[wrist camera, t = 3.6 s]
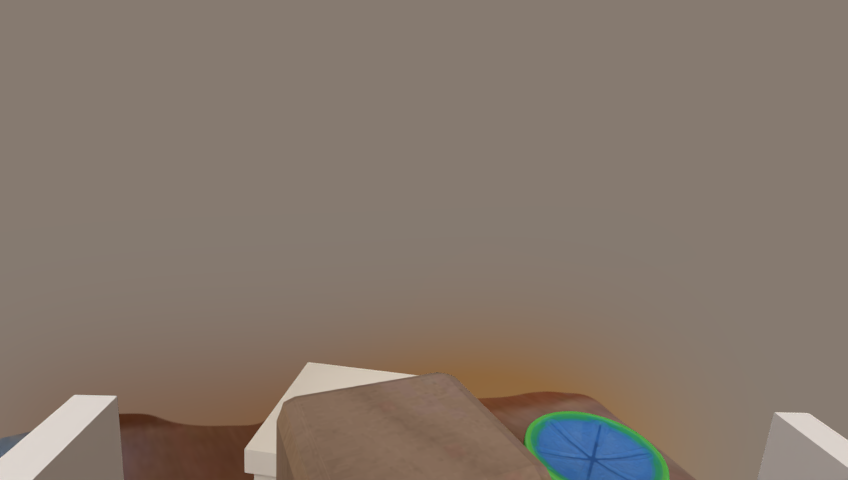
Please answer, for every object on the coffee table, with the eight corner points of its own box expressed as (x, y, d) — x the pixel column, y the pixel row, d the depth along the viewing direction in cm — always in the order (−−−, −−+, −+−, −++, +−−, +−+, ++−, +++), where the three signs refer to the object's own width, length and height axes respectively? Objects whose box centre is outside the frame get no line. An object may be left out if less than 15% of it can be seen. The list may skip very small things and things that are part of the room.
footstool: (245, 549, 39) (244, 449, 37) (306, 440, 52) (308, 362, 50) (423, 578, 37) (432, 475, 35) (438, 458, 51) (445, 378, 49)
